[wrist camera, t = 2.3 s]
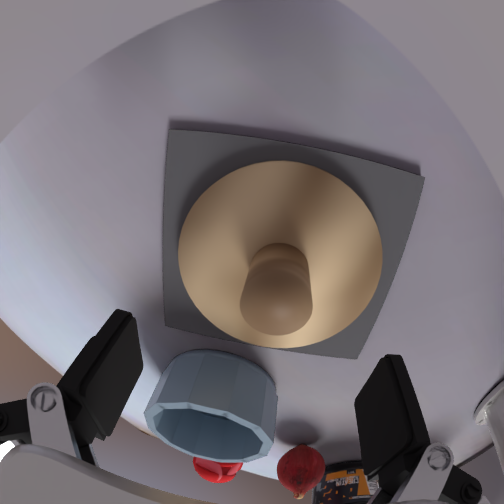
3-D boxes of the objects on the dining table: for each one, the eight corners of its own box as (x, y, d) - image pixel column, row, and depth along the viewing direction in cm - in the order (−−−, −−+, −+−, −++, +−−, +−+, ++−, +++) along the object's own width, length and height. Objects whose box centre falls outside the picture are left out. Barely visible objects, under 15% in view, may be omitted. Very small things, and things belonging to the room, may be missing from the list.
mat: (421, 176, 15) (425, 177, 15) (355, 354, 21) (356, 359, 21) (172, 129, 16) (169, 129, 15) (167, 321, 22) (165, 325, 22)
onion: (279, 434, 28) (273, 492, 21) (327, 434, 27) (328, 491, 20) (279, 452, 30) (273, 502, 23) (321, 452, 30) (321, 502, 22)
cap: (189, 448, 27) (178, 478, 26) (232, 471, 25) (218, 499, 24) (216, 428, 34) (205, 456, 34) (254, 446, 32) (240, 473, 31)
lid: (401, 186, 15) (438, 208, 10) (344, 349, 20) (352, 398, 16) (190, 147, 16) (152, 154, 11) (182, 320, 21) (159, 365, 17)
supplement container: (384, 455, 30) (391, 521, 19) (366, 477, 34) (369, 531, 23) (316, 461, 31) (314, 531, 20) (308, 481, 35) (305, 538, 24)
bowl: (287, 362, 23) (284, 420, 17) (265, 424, 27) (259, 469, 22) (163, 336, 23) (136, 386, 18) (170, 403, 28) (154, 444, 22)
